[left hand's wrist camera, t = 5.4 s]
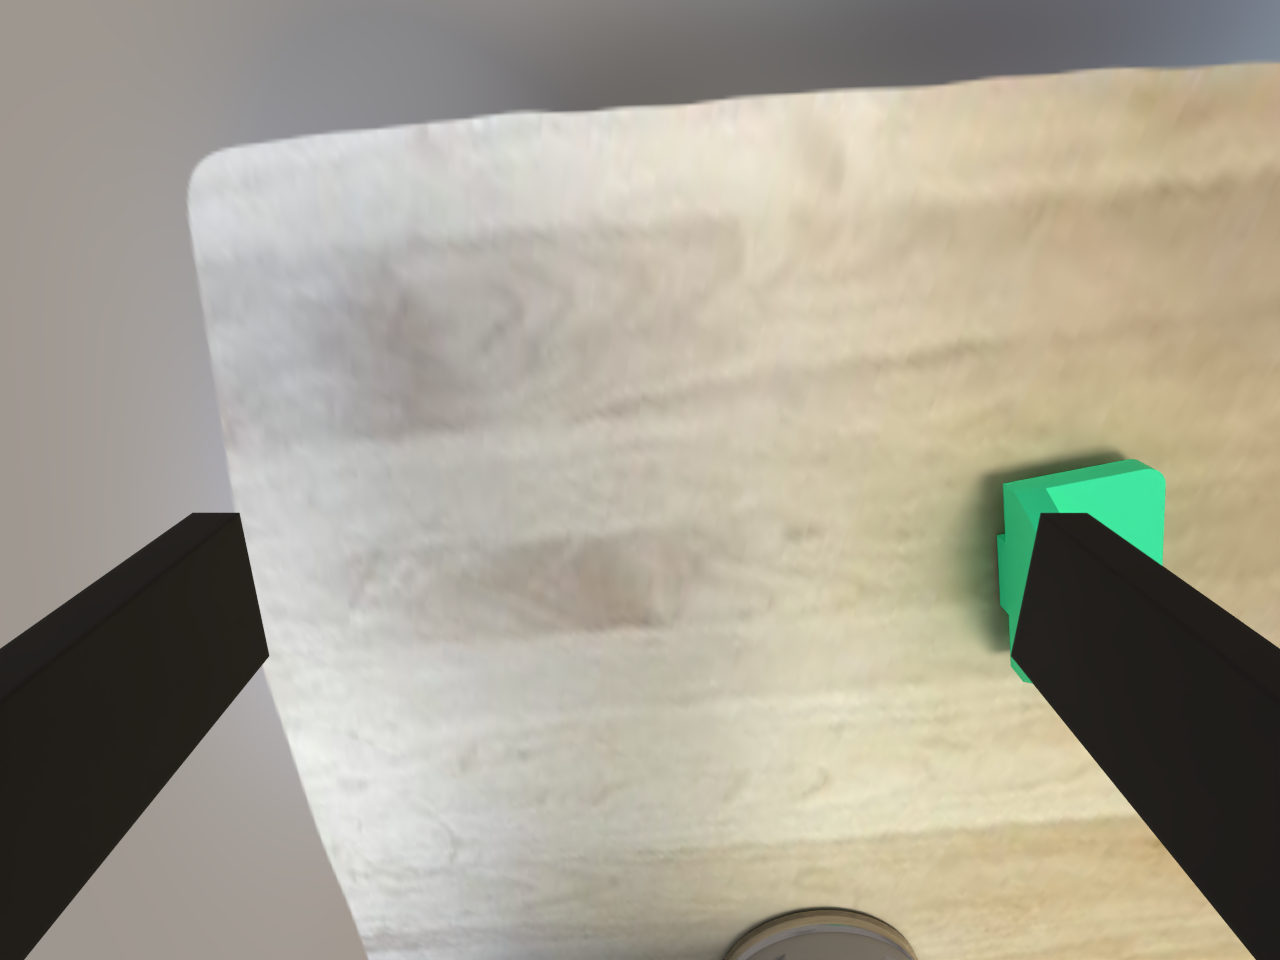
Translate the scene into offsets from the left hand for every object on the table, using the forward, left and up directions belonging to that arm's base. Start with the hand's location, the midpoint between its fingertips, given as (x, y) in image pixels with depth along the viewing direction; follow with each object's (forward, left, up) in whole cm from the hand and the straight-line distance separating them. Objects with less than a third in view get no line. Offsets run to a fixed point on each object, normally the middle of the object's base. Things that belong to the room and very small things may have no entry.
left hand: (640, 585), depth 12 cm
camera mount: (-14, -25, -28) cm, 40 cm away
